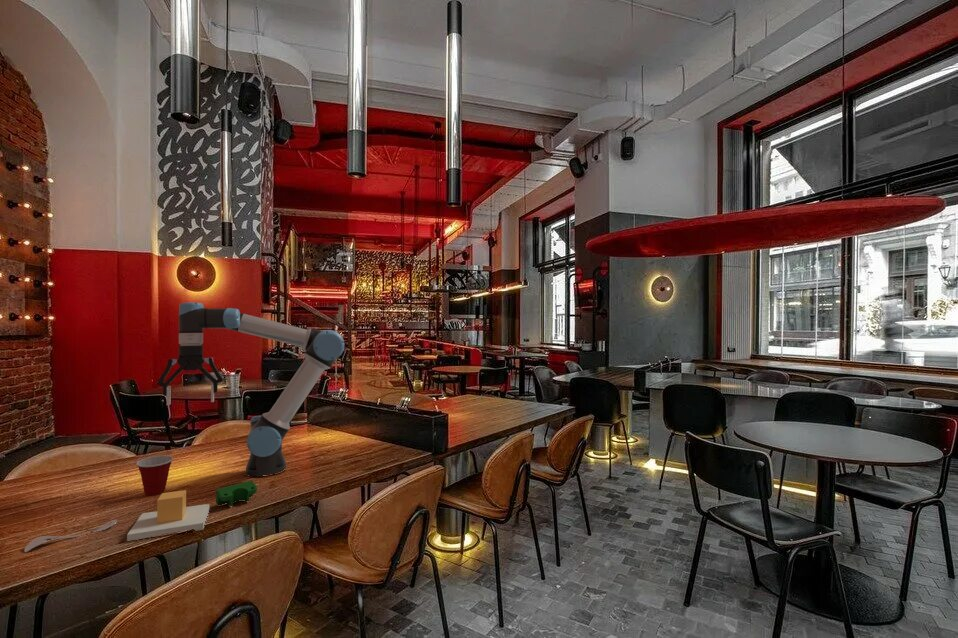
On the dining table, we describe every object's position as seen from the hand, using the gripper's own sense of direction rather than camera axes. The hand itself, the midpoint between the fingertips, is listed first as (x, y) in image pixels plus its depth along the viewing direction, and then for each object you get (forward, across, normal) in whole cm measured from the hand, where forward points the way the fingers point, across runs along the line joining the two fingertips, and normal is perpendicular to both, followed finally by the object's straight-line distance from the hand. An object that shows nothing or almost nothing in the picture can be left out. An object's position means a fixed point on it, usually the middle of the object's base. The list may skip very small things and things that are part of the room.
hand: (190, 403), depth 165 cm
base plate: (+31, -1, -32) cm, 45 cm away
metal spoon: (+32, -24, -29) cm, 50 cm away
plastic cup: (+32, -11, +3) cm, 34 cm away
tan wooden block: (+29, -1, -31) cm, 43 cm away
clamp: (+32, +16, -22) cm, 42 cm away
